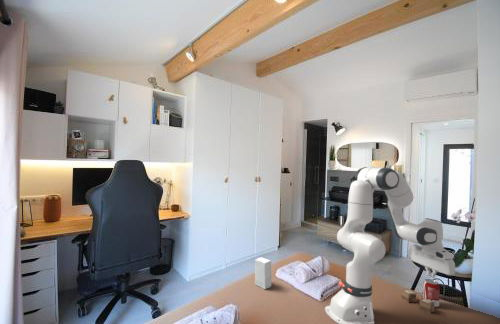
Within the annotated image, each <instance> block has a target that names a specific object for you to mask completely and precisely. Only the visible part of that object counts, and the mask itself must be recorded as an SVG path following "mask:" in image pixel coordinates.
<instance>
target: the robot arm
mask: <svg viewBox="0 0 500 324" xmlns="http://www.w3.org/2000/svg"><path fill="white" fill-rule="evenodd" d="M375 190H376V191H377V190H381V191H382V190H383V191H384V193H385V196H386V197H387V201H386V202H387V203H386V205H387V209H388V212H389V216H390V218H391V221H392V224H393V225H392V226H393V231H394V232H393V233H394V234H395V236H396V237H397V238H398V239H400V240H403V241H408V242H410V243H414V244H415V245H413V246H412V247H411V249H412V251H411V254H410V255H411V256H410V259H411V261H412V262H414V263H417V264H419V265H422V266H424V269H425V271H426V275H427V276H428V277H431V278H432V279H433V278H436V274H437V273H438V272H439V273H441V274H444V275H447V276H454V275H455V274H456V263H455V261H454V258H455V255H454V254H453V253H451V252H450V251H448V250H447V249H446V248H443V247H444V246H443V240H444V239H443V238H444V229H443V223H442V221H439V220H437V219H433V218H427V217H426V218H424V219H423V221H422V222H420V223H418V224H416V223H412V222H409V221H407V220H406V219H405V217H404V213H403V210H402V209H406V208H407V207H408V206H410V205H411V204H413V201H414V193H413V191H412V189H411V187H410V185H409V183H408V181H407V180H406V179H405V177H404V176H403V174H402V173H400V172H399V171H398V170H395V169H393V168H390V167H380V166H379V167H378V166H364V167H361V168H358V170H356V172H355V175H354V181H352V182H351V184H350V187H349V192H348V197H347V216H346V221H345V223H344V225H343V226H342V227H341V228H340V229H339V230H337V231H338V232H337V234H336V239H337V243H338V244H340V246H342V247H343V249H346V250H347V251H349V252H352V253H353V259H352V260H350V261H349V262H347V263H346V266H345V267H346V268H345V270H346V271H345V280H344V283H343V282H342V281H338V286H340V287H341V290H339V291H338V292H337V293H336V294H335V295H334V296H332V297H331V299H330V303H329V305H327V306H325V307H324V311H325V313H326V315H327V316H328V317H329V318H331V319H332V320H333V321H334V322H335V323H336V324H375V314H374V310H373V302H372V294H373V285H372V275H373V274H372V273H373V267H374V266H375V264H376V263H377V262H378V261H380V260H382V259H383V258H384V257H385V254H386V244H385V243H384V242H383V241H382V240H381V239H380V238H378V237H376V236H375V235H373V234H370V233H367V232H365V228H366V225H368V224H370V223H371V222H372V221H373V218H374V217H373V216H374V214H373V213H374V193H375ZM431 269H432V270H431Z"/></svg>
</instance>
